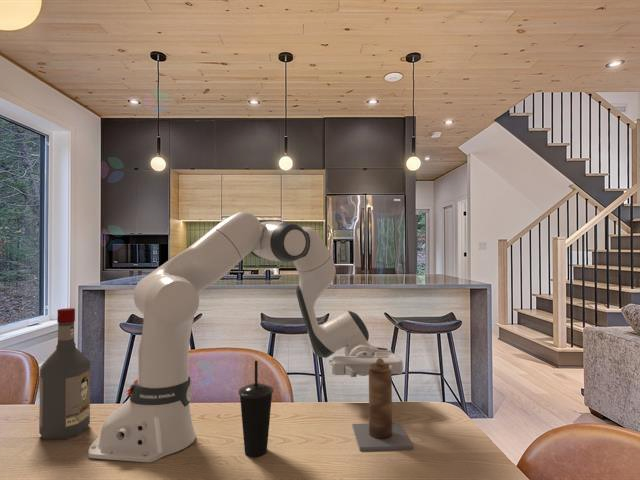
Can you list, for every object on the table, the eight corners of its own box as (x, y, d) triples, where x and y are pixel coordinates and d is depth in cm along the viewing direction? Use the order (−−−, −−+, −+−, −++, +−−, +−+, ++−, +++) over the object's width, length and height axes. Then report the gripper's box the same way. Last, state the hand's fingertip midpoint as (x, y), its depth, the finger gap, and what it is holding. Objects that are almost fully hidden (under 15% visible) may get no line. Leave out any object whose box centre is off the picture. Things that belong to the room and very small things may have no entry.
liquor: (33, 440, 95) (35, 312, 96) (57, 423, 104) (58, 306, 105) (73, 439, 95) (74, 312, 96) (93, 423, 105) (94, 306, 105)
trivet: (359, 450, 90) (359, 447, 90) (352, 427, 102) (352, 423, 102) (413, 449, 91) (412, 445, 91) (399, 425, 103) (399, 422, 103)
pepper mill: (371, 439, 93) (371, 361, 94) (367, 429, 99) (366, 355, 99) (394, 438, 94) (393, 361, 94) (389, 428, 99) (388, 355, 100)
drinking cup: (266, 462, 85) (266, 367, 85) (232, 458, 87) (232, 364, 87) (277, 445, 93) (277, 357, 93) (246, 442, 94) (246, 355, 94)
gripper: (328, 349, 122) (332, 362, 108) (395, 348, 123) (408, 361, 109) (328, 370, 122) (332, 386, 108) (395, 369, 123) (408, 385, 109)
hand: (371, 373), depth 108 cm, fingers open, 8 cm apart
